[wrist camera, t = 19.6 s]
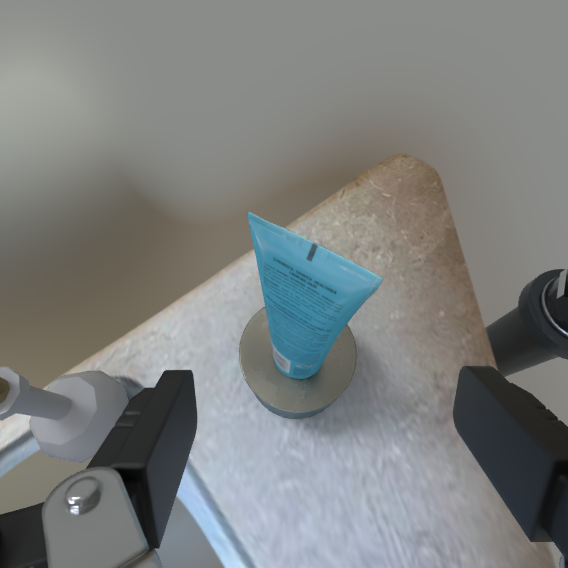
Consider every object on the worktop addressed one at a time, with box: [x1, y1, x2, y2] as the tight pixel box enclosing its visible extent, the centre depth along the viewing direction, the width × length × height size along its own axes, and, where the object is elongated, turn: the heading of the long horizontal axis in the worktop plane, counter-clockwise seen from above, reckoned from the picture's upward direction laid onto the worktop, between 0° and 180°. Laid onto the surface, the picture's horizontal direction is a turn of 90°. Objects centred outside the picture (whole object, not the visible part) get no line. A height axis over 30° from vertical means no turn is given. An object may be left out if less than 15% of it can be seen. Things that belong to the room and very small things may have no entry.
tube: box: [248, 212, 383, 379], centre depth 26 cm, size 7×5×19 cm, turn 64°
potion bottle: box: [0, 367, 128, 463], centre depth 31 cm, size 9×9×18 cm
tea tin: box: [239, 307, 356, 419], centre depth 38 cm, size 11×11×8 cm
